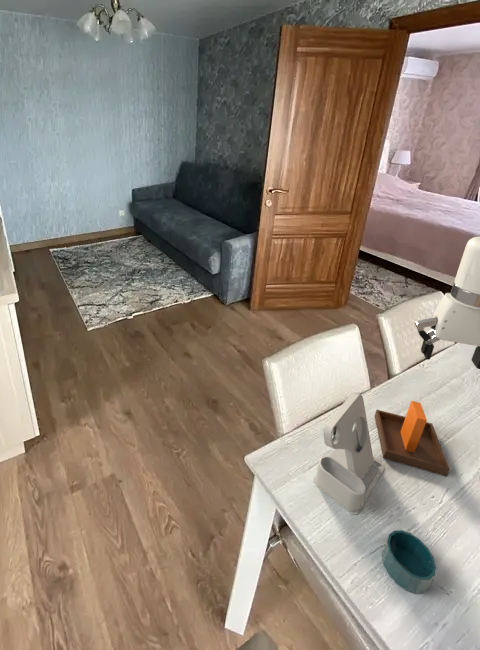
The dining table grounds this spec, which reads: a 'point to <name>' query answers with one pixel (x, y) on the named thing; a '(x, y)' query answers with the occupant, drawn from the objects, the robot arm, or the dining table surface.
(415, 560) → the cup
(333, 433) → the phone holder
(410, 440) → the block
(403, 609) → the dining table surface
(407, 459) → the tray
